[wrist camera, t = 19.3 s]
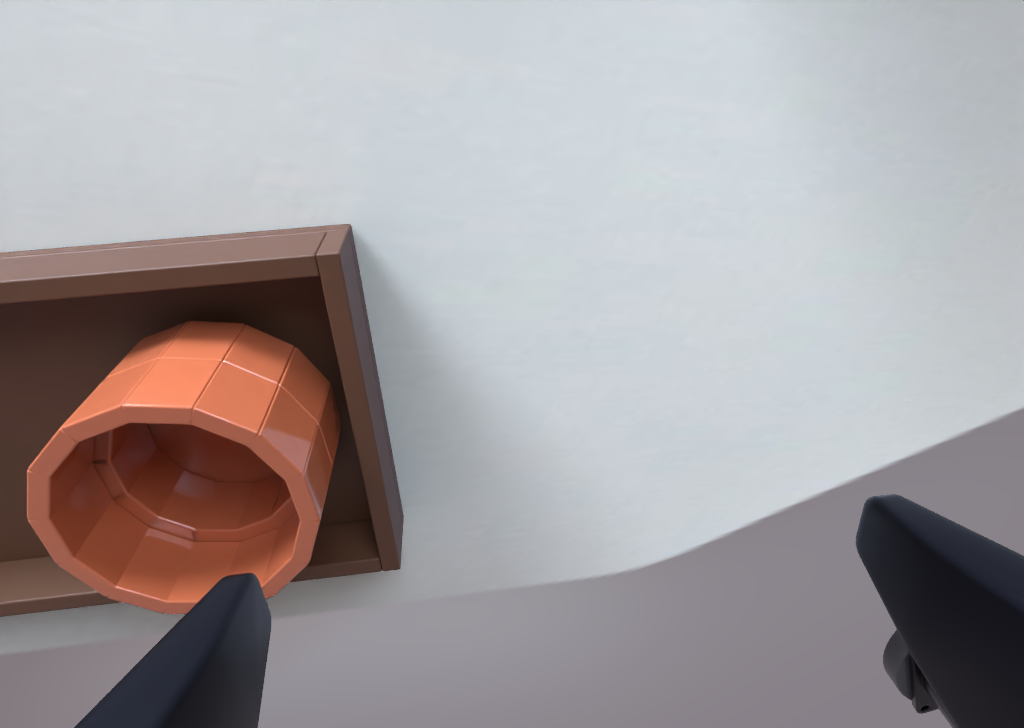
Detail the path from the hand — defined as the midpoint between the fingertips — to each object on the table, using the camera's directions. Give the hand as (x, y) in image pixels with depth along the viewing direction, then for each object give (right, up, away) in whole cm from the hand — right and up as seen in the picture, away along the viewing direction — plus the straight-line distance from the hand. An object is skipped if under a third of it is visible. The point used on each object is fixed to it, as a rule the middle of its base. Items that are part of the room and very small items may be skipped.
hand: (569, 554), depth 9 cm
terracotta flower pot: (-10, +1, +11) cm, 14 cm away
